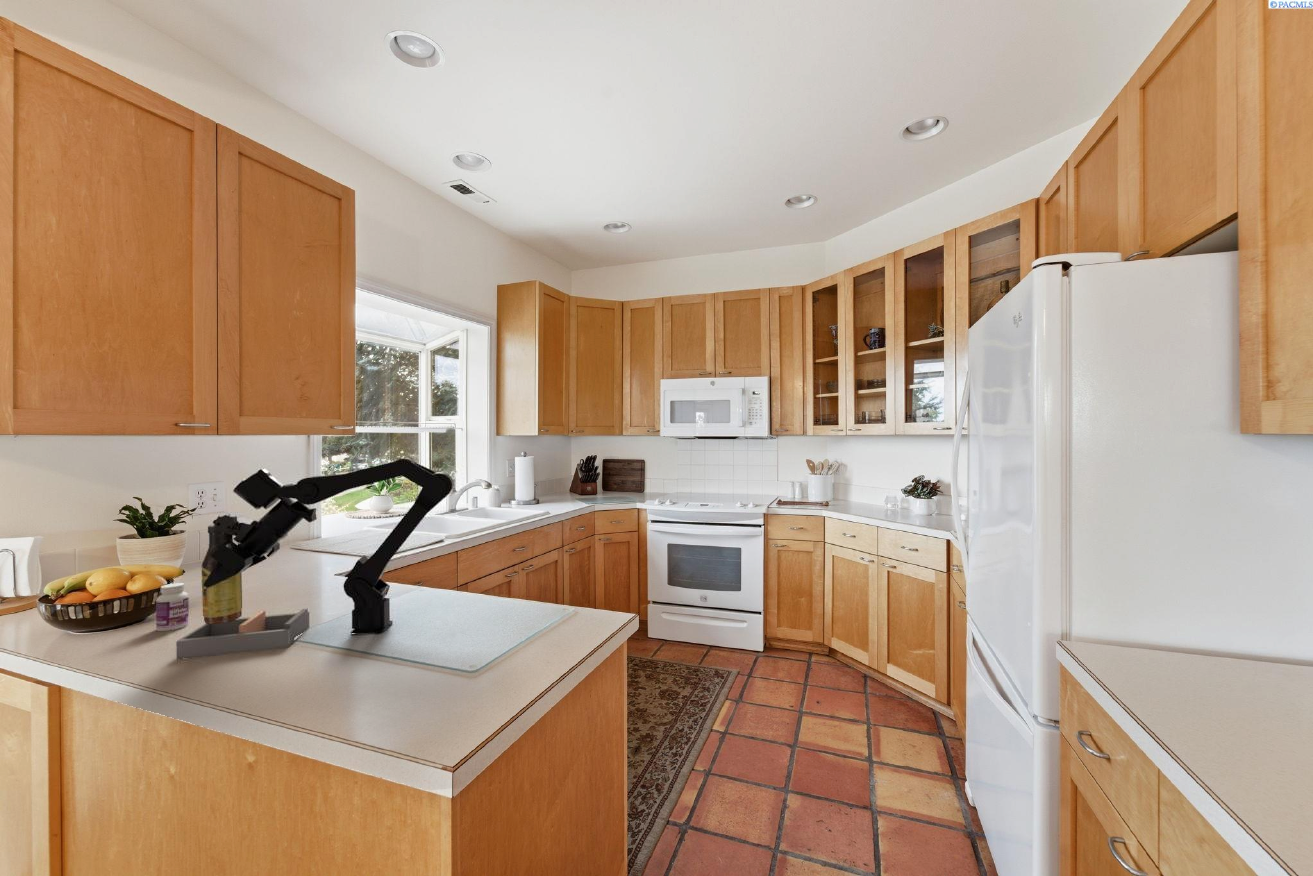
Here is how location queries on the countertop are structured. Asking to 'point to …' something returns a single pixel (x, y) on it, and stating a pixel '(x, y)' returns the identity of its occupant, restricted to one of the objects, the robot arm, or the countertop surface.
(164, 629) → the pill bottle
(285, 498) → the robot arm
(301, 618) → the tray
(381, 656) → the countertop surface
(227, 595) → the sauce bottle
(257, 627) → the plate
